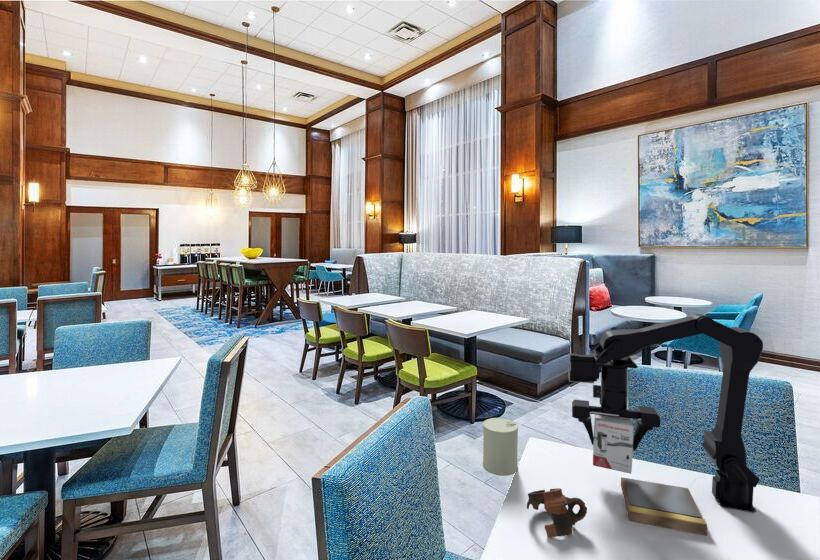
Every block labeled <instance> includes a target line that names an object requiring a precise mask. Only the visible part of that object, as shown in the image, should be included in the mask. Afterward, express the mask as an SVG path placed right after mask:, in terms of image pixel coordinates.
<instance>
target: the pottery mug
mask: <svg viewBox="0 0 820 560" xmlns="http://www.w3.org/2000/svg"><path fill="white" fill-rule="evenodd" d="M527 496H528V500H527V503H526V509H527V510H529V508H530V505H531V507H532V508H533V510H535V511H538V510H539V506H540V505H544V507H543V509H544V510H545V512H546V513H548V514H549V515H550V517H551V519H552V522H553V523H550V524H549V523H548V524H544V530H545V534H546V535H547V538H556V537H557V538H558V537H567V536H570V535H572V534H573V526H575V525H576V523H578V522H580V521H582V520H584V518H585V517H586V515H587V513H588V507H587V506H586V503H585V502H584V501H583V500H582V499H581V498H580V497H571V498H570V497H567V496H566V495H564V494H563V489H562V488H560V487H559V488H550V489H549V490H548V491H546V490H545V489H539V490H535V491H530V492H528V493H527ZM576 505H577V506H578V507H579V509H578V511H577V513H575V512H574V510H573V509H574V508H575V506H576Z"/></svg>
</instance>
